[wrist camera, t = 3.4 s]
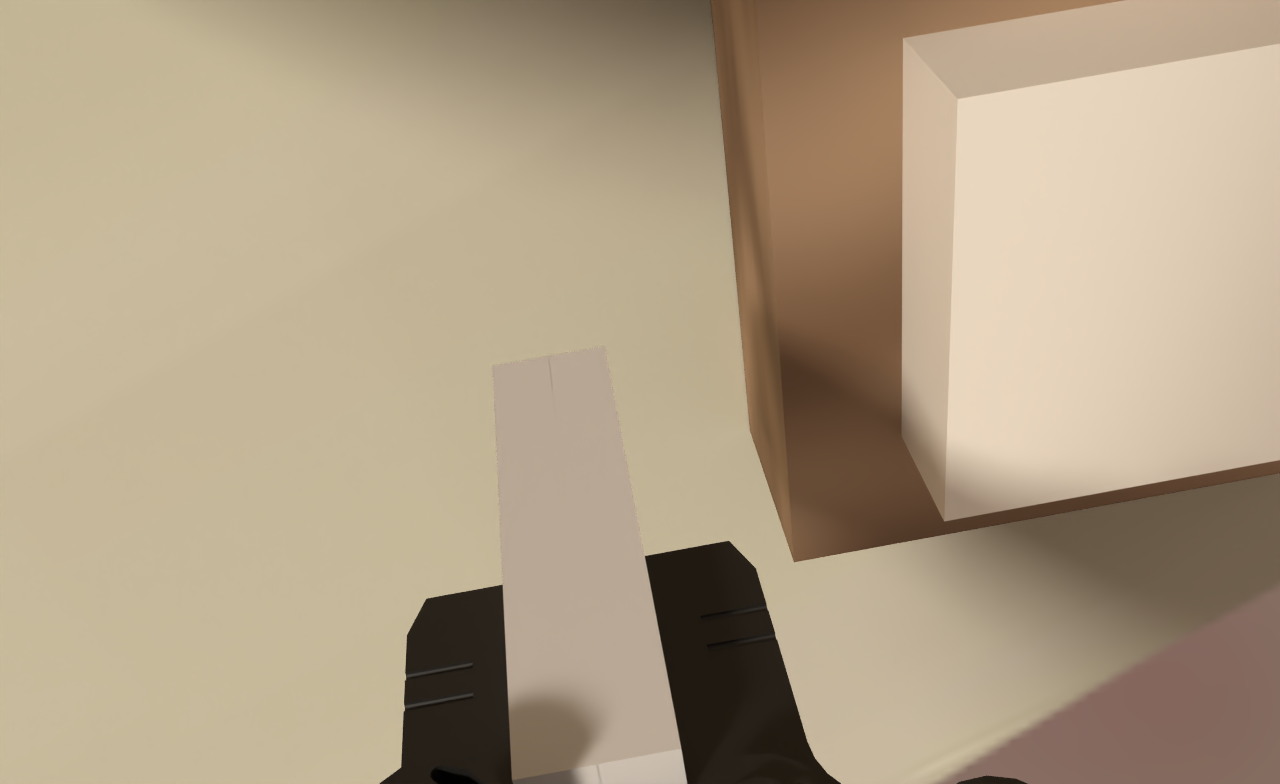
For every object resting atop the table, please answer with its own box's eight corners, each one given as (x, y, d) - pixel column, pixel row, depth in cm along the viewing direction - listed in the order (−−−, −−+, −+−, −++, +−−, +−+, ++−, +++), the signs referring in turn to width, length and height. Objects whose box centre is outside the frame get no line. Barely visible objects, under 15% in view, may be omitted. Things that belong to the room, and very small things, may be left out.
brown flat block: (699, -121, 19) (751, -49, 16) (1320, -224, 19) (1498, -175, 16) (750, 430, 25) (793, 561, 22) (1213, 347, 26) (1323, 464, 22)
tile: (902, 37, 16) (957, 99, 15) (1397, -47, 17) (1510, 3, 15) (901, 436, 21) (944, 521, 19) (1297, 364, 21) (1376, 442, 19)
